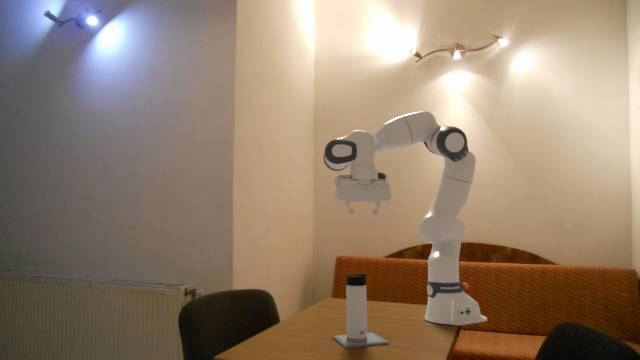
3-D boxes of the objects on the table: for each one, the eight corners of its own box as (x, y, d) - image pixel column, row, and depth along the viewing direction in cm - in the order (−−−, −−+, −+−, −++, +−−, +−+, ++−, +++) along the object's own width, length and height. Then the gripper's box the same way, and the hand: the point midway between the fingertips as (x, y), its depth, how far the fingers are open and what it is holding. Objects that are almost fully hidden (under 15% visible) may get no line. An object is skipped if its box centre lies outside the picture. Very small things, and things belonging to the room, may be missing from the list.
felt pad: (372, 334, 149) (372, 331, 149) (389, 343, 138) (389, 341, 138) (332, 337, 145) (332, 335, 145) (345, 348, 134) (345, 345, 134)
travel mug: (367, 342, 137) (367, 275, 138) (345, 342, 137) (345, 274, 139) (368, 337, 143) (367, 272, 144) (347, 336, 144) (346, 272, 145)
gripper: (338, 173, 157) (338, 213, 156) (392, 175, 163) (392, 214, 162) (332, 175, 163) (332, 214, 162) (384, 177, 169) (385, 214, 168)
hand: (363, 214), depth 162 cm, fingers open, 8 cm apart
